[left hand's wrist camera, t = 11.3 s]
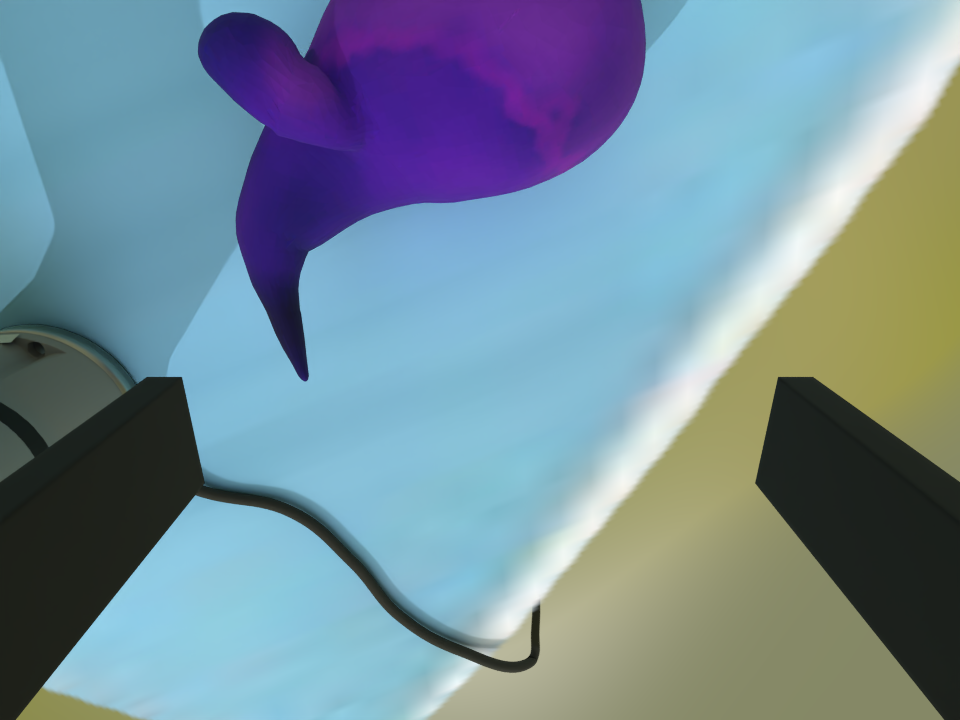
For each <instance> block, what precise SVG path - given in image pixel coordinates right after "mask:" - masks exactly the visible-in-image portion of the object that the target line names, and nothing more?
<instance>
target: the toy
mask: <svg viewBox="0 0 960 720" xmlns="http://www.w3.org/2000/svg"><path fill="white" fill-rule="evenodd" d="M645 48H646V39H645V24H644V17H643V11H642V5H641V0H330V2H329V4H328V6H327V8H326V10H325V12H324V14H323V16H322V19H321V21H320V23H319V26H318V28H317V31H316V33H315V35H314V38H313V40H312V43H311V45H310V47H309V50H308V52H307V53H306V55H305V57H304V58H303V57H302V56H301V55H300V53H299V51H298V49H297V47H296V45H295V44H294V42H293V41H292V39H291V38H290V37H289V36H288V35H287V33H285V32H284V31H283V30H282V29H281V28H280V27H278V26H277V25H275V24H274V23H272V22H270V21H268V20H266V19H264V18H262V17H259V16H257V15H255V14H250V13H238V12H232V13H228V14H224V15H221V16H219V17H218V18H216V19H214V20H213V21H212V22H211V23H209V24H208V26H207V27H206V28H205V29H204V31H203V33H202V35H201V37H200V40H199V44H198V55H199V58H200V61H201V63H202V65H203V67H204V69H205V70H206V72H207V73H208V74H209V75H210V77H211V78H212V79H213V80H214V81H215V82H216V83H217V84H218V85H219V86H220V87H221V88H222V89H223V90H224V91H225V92H226V93H227V94H228V95H229V96H230V97H231V98H232V99H233V100H234V101H235V102H236V103H237V104H239V105H240V106H241V107H242V108H243V109H244V110H246V111H247V112H248V113H249V114H251V115H252V116H253V117H254V118H256V119H257V120H258V121H260V122H261V123H263V124H264V125H265V127H264V129H263V131H262V134H261V136H260V138H259V141H258V143H257V145H256V147H255V150H254V152H253V154H252V157H251V160H250V163H249V166H248V169H247V173H246V176H245V180H244V183H243V187H242V190H241V194H240V197H239V201H238V206H237V211H236V235H237V239H238V243H239V247H240V250H241V253H242V256H243V259H244V262H245V265H246V268H247V271H248V274H249V277H250V280H251V283H252V285H253V287H254V289H255V291H256V293H257V295H258V297H259V298H260V300H261V302H262V304H263V306H264V308H265V310H266V312H267V314H268V317H269V319H270V321H271V324H272V326H273V329H274V331H275V334H276V336H277V338H278V340H279V342H280V344H281V346H282V348H283V349H284V351H285V353H286V354H287V356H288V358H289V359H290V361H291V363H292V365H293V367H294V368H295V370H296V372H297V374H298V376H299V377H300V378H301V379H302V380H303V381H307V380H308V377H309V373H308V365H307V357H306V348H305V339H304V331H303V324H302V317H301V312H300V305H299V292H298V287H299V278H300V272H301V270H302V267H303V264H304V261H305V258H306V256H307V254H308V252H309V251H310V250H312V249H314V248H316V247H318V246H320V245H322V244H323V243H325V242H326V241H328V240H329V239H331V238H332V237H334V236H335V235H337V234H338V233H340V232H341V231H343V230H344V229H346V228H347V227H349V226H351V225H352V224H354V223H356V222H357V221H359V220H361V219H364V218H366V217H368V216H370V215H372V214H375V213H378V212H382V211H385V210H389V209H392V208H396V207H400V206H405V205H410V204H415V203H451V202H460V201H466V200H472V199H479V198H485V197H491V196H498V195H502V194H507V193H512V192H516V191H519V190H523V189H526V188H529V187H532V186H534V185H537V184H539V183H542V182H544V181H547V180H549V179H551V178H554V177H556V176H558V175H560V174H562V173H564V172H566V171H567V170H569V169H571V168H572V167H574V166H576V165H577V164H579V163H581V162H582V161H584V160H585V159H586V158H588V157H589V156H590V155H591V154H593V153H594V152H595V151H596V150H598V149H599V148H600V147H601V146H602V145H603V144H604V143H605V142H606V141H607V140H608V139H609V138H610V137H611V136H612V135H613V133H614V132H615V131H616V130H617V129H618V127H619V126H620V125H621V123H622V122H623V120H624V119H625V117H626V116H627V114H628V112H629V110H630V109H631V107H632V105H633V103H634V101H635V98H636V96H637V93H638V90H639V87H640V85H641V80H642V76H643V71H644V63H645Z"/></svg>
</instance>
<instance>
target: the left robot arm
mask: <svg viewBox="0 0 960 720" xmlns="http://www.w3.org/2000/svg"><path fill="white" fill-rule="evenodd" d="M755 483H756V485H757V486H758V487H759V489H760V490H761V491H762V492H763V494H764V495H765V496H766V497H767V499H768V500H769V501H770V502H771V503H772V505H773V506H774V507H775V509H776V510H777V511H778V512H779V514H780V515H781V516H782V517H783V519H784V520H785V521H786V522H787V524H788V525H789V526H790V527H791V529H792V530H793V531H794V532H795V534H796V535H797V536H798V537H799V539H800V540H801V541H802V542H803V544H804V545H805V546H806V547H807V549H808V550H809V551H810V552H811V554H812V555H813V556H814V557H815V559H816V560H817V561H818V562H819V564H820V565H821V566H822V567H823V569H824V570H825V571H826V572H827V574H828V575H829V576H830V577H831V579H832V580H833V581H834V582H835V584H836V585H837V586H838V587H839V589H840V590H841V591H842V592H843V594H844V595H845V596H846V597H847V598H848V600H849V601H850V602H851V604H852V605H853V606H854V607H855V609H856V610H857V611H858V612H859V614H860V615H861V616H862V617H863V619H864V620H865V621H866V622H867V624H868V625H869V626H870V627H871V629H872V630H873V631H874V632H875V634H876V635H877V636H878V637H879V639H880V640H881V641H882V642H883V644H884V645H885V646H886V647H887V649H888V650H889V651H890V652H891V654H892V655H893V656H894V657H895V659H896V660H897V661H898V662H899V664H900V665H901V666H902V667H903V669H904V670H905V671H906V672H907V674H908V675H909V676H910V677H911V679H912V680H913V681H914V682H915V684H916V685H917V686H918V687H919V689H920V690H921V691H922V692H923V694H924V695H925V696H926V697H927V699H928V700H929V701H930V702H931V704H932V705H933V706H934V707H935V709H936V710H937V711H938V712H939V714H940V715H941V716H942V717H943V719H944V720H960V482H959V481H958V480H956V479H955V478H953V477H952V476H951V475H949V474H948V473H946V472H945V471H944V470H942V469H941V468H939V467H938V466H937V465H935V464H934V463H932V462H931V461H930V460H928V459H927V458H925V457H924V456H923V455H921V454H920V453H918V452H917V451H916V450H914V449H913V448H911V447H910V446H909V445H907V444H906V443H904V442H903V441H902V440H900V439H899V438H897V437H896V436H895V435H893V434H892V433H890V432H889V431H888V430H886V429H885V428H883V427H882V426H881V425H879V424H878V423H876V422H875V421H874V420H872V419H871V418H869V417H868V416H867V415H865V414H864V413H862V412H861V411H860V410H858V409H857V408H855V407H854V406H853V405H851V404H850V403H848V402H847V401H846V400H844V399H843V398H842V397H840V396H839V395H837V394H836V393H835V392H833V391H832V390H830V389H829V388H827V387H826V386H825V385H823V384H822V383H821V382H819V381H818V380H816V379H815V378H814V377H778V380H777V385H776V389H775V394H774V399H773V403H772V408H771V413H770V417H769V422H768V427H767V431H766V436H765V440H764V445H763V450H762V454H761V459H760V464H759V468H758V473H757V478H756V482H755ZM204 484H205V482H204V478H203V473H202V468H201V464H200V459H199V454H198V450H197V445H196V440H195V436H194V431H193V427H192V422H191V417H190V413H189V408H188V403H187V399H186V394H185V389H184V385H183V380H182V377H146V378H145V379H144V380H142V381H141V382H139V383H138V384H137V385H135V383H134V381H133V380H132V378H131V377H130V376H129V374H128V373H127V372H126V370H125V369H124V368H123V367H122V366H121V365H120V364H119V363H118V362H117V361H116V360H115V359H114V358H113V357H112V356H111V355H110V354H108V353H107V352H106V351H105V350H103V349H102V348H100V347H99V346H97V345H96V344H94V343H93V342H91V341H89V340H88V339H86V338H84V337H82V336H79V335H77V334H75V333H72V332H70V331H67V330H64V329H60V328H56V327H52V326H46V325H35V324H27V325H17V326H11V327H8V328H4V329H1V330H0V720H16V719H17V717H18V716H19V715H20V714H21V712H22V711H23V710H24V709H25V707H26V706H27V705H28V704H29V702H30V701H31V700H32V699H33V697H34V696H35V695H36V694H37V692H38V691H39V690H40V689H41V687H42V686H43V685H44V684H45V682H46V681H47V680H48V679H49V677H50V676H51V675H52V674H53V672H54V671H55V670H56V669H57V667H58V666H59V665H60V664H61V662H62V661H63V660H64V659H65V657H66V656H67V655H68V654H69V652H70V651H71V650H72V649H73V647H74V646H75V645H76V644H77V642H78V641H79V640H80V639H81V637H82V636H83V635H84V634H85V632H86V631H87V630H88V629H89V627H90V626H91V625H92V624H93V622H94V621H95V620H96V619H97V617H98V616H99V615H100V614H101V612H102V611H103V610H104V609H105V607H106V606H107V605H108V604H109V602H110V601H111V600H112V599H113V597H114V596H115V595H116V594H117V592H118V591H119V590H120V589H121V587H122V586H123V585H124V584H125V582H126V581H127V580H128V579H129V577H130V576H131V575H132V574H133V572H134V571H135V570H136V569H137V567H138V566H139V565H140V564H141V562H142V561H143V560H144V559H145V557H146V556H147V555H148V554H149V552H150V551H151V550H152V549H153V547H154V546H155V545H156V544H157V542H158V541H159V540H160V539H161V537H162V536H163V535H164V534H165V532H166V531H167V530H168V529H169V527H170V526H171V525H172V524H173V522H174V521H175V520H176V519H177V517H178V516H179V515H180V514H181V512H182V511H183V510H184V509H185V507H186V506H187V505H188V504H189V502H190V501H191V500H192V499H193V497H194V496H195V495H197V496H200V497H203V498H207V499H210V500H215V501H220V502H225V503H232V504H239V505H247V506H254V507H260V508H264V509H269V510H272V511H275V512H278V513H281V514H283V515H285V516H288V517H290V518H292V519H294V520H296V521H297V522H299V523H301V524H302V525H304V526H306V527H307V528H308V529H310V530H311V531H313V532H314V533H315V534H316V535H318V536H319V537H320V538H321V539H322V540H323V541H324V542H325V543H326V544H327V545H328V546H329V547H330V548H331V549H332V550H333V551H334V552H335V553H336V554H337V555H338V556H339V557H340V558H341V559H342V560H343V561H344V562H345V563H346V564H347V565H348V566H349V567H350V568H351V569H352V570H353V571H354V572H355V573H356V574H357V575H358V576H359V577H360V579H361V580H362V581H363V582H364V584H365V585H366V586H367V588H368V589H369V590H370V592H371V593H372V594H373V596H374V597H375V598H376V599H377V601H378V602H379V603H380V604H381V606H382V607H383V608H384V609H385V610H386V611H387V612H388V613H389V614H390V615H391V616H392V617H393V618H395V619H396V620H397V621H398V622H399V623H401V624H402V625H403V626H405V627H406V628H407V629H409V630H410V631H411V632H413V633H414V634H416V635H417V636H419V637H420V638H422V639H424V640H425V641H427V642H429V643H431V644H433V645H435V646H437V647H439V648H441V649H443V650H446V651H448V652H450V653H453V654H455V655H458V656H461V657H463V658H466V659H468V660H470V661H473V662H475V663H478V664H480V665H483V666H485V667H488V668H491V669H494V670H497V671H502V672H509V673H516V672H521V671H525V670H527V669H529V668H531V667H532V666H534V665H535V664H536V662H537V660H538V658H539V654H540V636H539V633H540V601H539V603H538V604H537V605H536V606H534V607H533V608H532V623H531V653H530V655H529V657H528V658H526V659H525V660H522V661H518V662H508V661H502V660H498V659H495V658H492V657H489V656H486V655H484V654H481V653H479V652H476V651H474V650H472V649H469V648H467V647H464V646H462V645H459V644H457V643H454V642H452V641H449V640H447V639H445V638H443V637H441V636H439V635H437V634H435V633H433V632H431V631H429V630H428V629H426V628H425V627H423V626H421V625H420V624H419V623H417V622H416V621H414V620H413V619H412V618H410V617H409V616H408V615H407V614H405V613H404V612H403V611H402V610H401V609H399V608H398V607H397V606H396V605H395V604H394V603H393V602H392V601H391V600H390V599H389V597H388V596H387V595H386V594H385V593H384V591H383V590H382V589H381V587H380V586H379V585H378V583H377V582H376V580H375V579H374V578H373V576H372V575H371V574H370V573H369V571H368V570H367V569H366V568H365V567H364V566H363V564H362V563H361V562H360V561H359V560H358V559H357V558H356V557H355V556H354V555H353V554H352V553H351V552H350V551H349V550H348V549H347V548H346V547H345V546H344V545H343V544H342V543H341V542H340V541H339V540H338V539H337V538H336V537H335V536H334V535H333V534H332V533H331V532H330V531H329V530H328V529H327V528H326V527H324V526H323V525H322V524H321V523H320V522H318V521H317V520H316V519H314V518H313V517H311V516H310V515H308V514H306V513H305V512H303V511H301V510H299V509H297V508H295V507H293V506H291V505H289V504H287V503H284V502H281V501H278V500H275V499H271V498H267V497H262V496H256V495H249V494H241V493H234V492H228V491H222V490H218V489H214V488H210V487H207V486H203V485H204Z"/></svg>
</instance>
